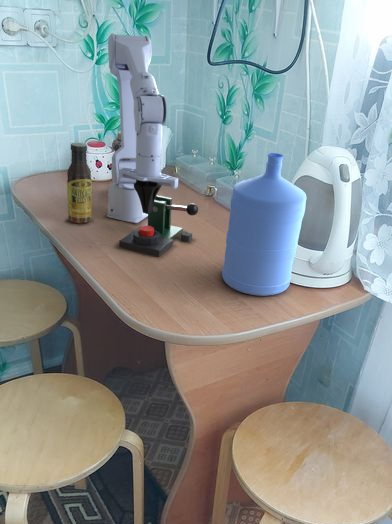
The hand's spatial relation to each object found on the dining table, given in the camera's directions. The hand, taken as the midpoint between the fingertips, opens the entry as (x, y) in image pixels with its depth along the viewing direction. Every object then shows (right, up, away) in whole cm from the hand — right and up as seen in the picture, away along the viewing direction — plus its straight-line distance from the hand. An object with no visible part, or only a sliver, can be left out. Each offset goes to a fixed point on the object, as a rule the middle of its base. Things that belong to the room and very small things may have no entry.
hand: (147, 212), depth 124 cm
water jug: (+25, -18, -6) cm, 32 cm away
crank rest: (+9, -4, +11) cm, 15 cm away
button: (-1, -5, +3) cm, 6 cm away
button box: (-1, -7, +5) cm, 9 cm away
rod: (+7, +2, +8) cm, 11 cm away
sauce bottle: (-20, +2, +16) cm, 25 cm away
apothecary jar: (-9, +16, +39) cm, 43 cm away
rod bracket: (+2, -2, +13) cm, 13 cm away
